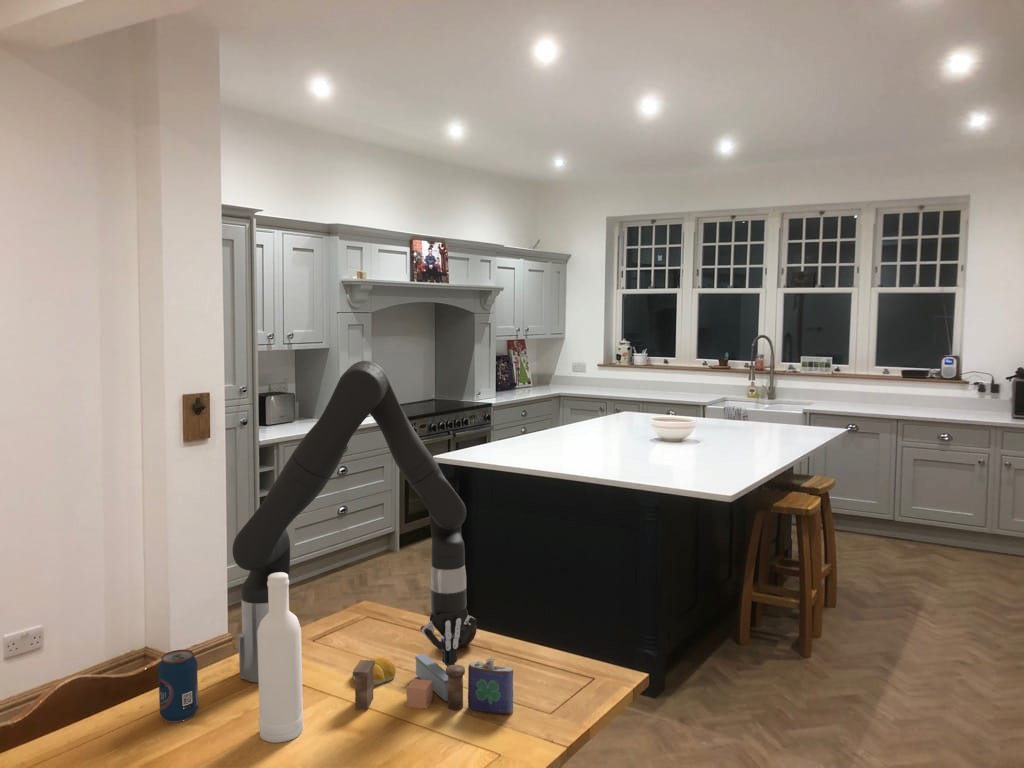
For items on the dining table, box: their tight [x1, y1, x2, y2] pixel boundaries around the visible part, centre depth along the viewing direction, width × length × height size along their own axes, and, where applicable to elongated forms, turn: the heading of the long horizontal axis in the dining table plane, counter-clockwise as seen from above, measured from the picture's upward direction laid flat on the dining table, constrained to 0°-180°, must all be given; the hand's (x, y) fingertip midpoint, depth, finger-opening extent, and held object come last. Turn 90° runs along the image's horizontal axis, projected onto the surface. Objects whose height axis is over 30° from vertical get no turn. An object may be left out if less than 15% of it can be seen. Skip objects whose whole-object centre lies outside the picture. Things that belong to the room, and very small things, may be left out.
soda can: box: [158, 649, 199, 723], centre depth 156 cm, size 7×7×12 cm
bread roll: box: [351, 657, 397, 686], centre depth 174 cm, size 8×9×4 cm
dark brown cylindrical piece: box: [445, 664, 466, 712], centre depth 160 cm, size 4×4×8 cm
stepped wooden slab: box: [352, 659, 375, 711], centre depth 161 cm, size 3×6×8 cm, turn 176°
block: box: [406, 678, 433, 709], centre depth 162 cm, size 4×4×4 cm
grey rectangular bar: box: [414, 653, 448, 702], centre depth 168 cm, size 14×2×4 cm, turn 31°
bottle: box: [257, 572, 304, 744], centre depth 149 cm, size 8×8×30 cm
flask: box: [467, 656, 514, 716], centre depth 158 cm, size 9×3×11 cm, turn 74°
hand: (449, 665), depth 172 cm, fingers closed
